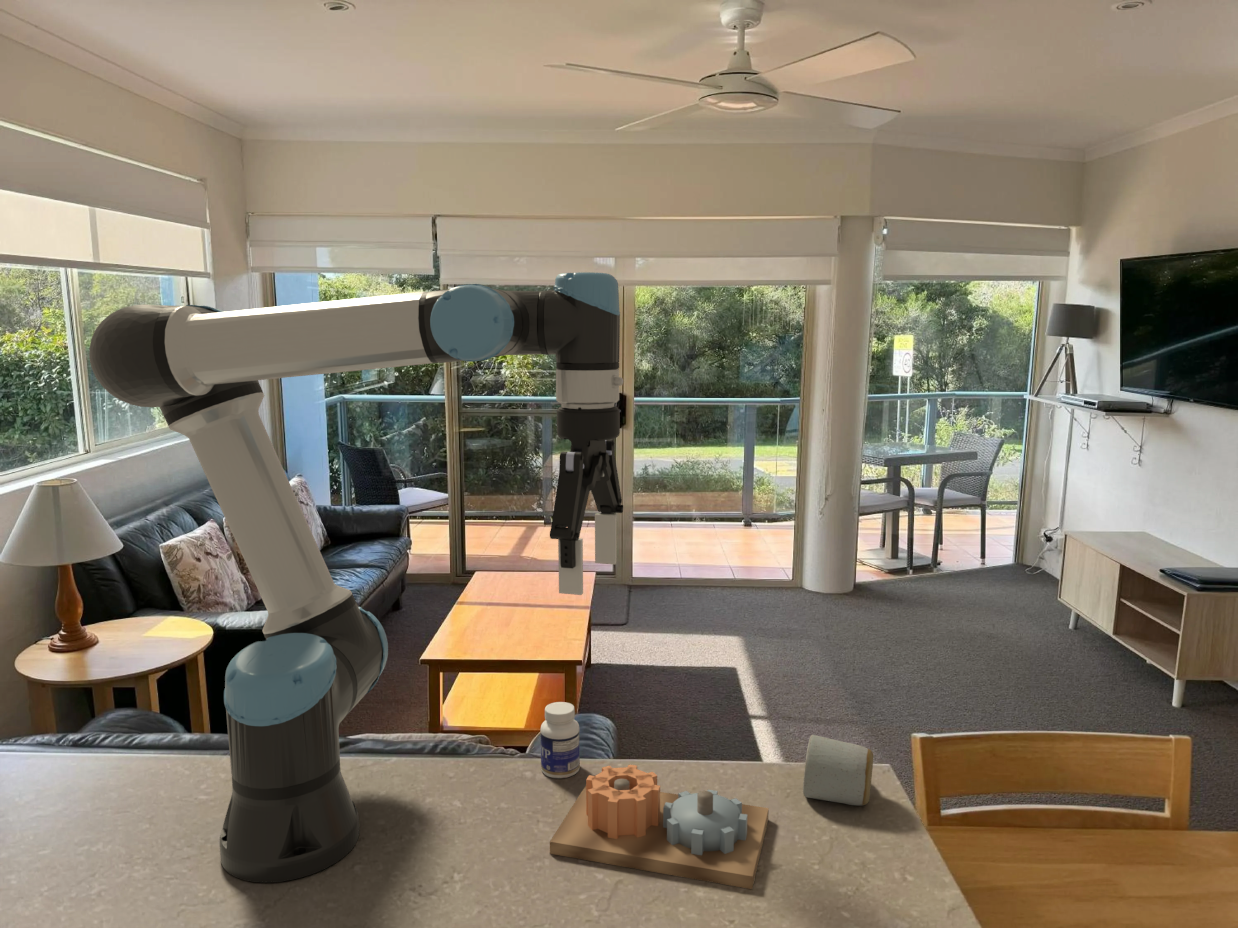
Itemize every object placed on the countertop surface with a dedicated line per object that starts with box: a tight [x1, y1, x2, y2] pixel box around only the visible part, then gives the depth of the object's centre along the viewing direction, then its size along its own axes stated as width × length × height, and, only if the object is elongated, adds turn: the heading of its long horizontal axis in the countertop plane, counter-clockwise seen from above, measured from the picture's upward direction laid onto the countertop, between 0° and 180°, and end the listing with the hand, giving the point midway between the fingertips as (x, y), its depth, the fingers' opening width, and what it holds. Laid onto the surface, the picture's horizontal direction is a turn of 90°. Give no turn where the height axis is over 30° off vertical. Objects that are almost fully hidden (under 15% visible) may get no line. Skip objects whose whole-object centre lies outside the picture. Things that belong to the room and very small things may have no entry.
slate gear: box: [663, 789, 747, 855], centre depth 102 cm, size 10×10×2 cm
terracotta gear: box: [585, 764, 661, 839], centre depth 105 cm, size 9×9×4 cm
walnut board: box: [549, 779, 770, 890], centre depth 104 cm, size 23×14×6 cm, turn 74°
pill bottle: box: [539, 701, 581, 779], centre depth 119 cm, size 5×5×9 cm
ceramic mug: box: [802, 734, 874, 806], centre depth 113 cm, size 11×8×8 cm
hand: (589, 577), depth 109 cm, fingers open, 13 cm apart
